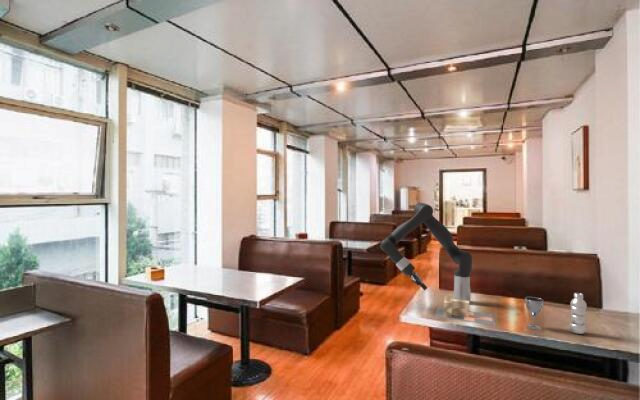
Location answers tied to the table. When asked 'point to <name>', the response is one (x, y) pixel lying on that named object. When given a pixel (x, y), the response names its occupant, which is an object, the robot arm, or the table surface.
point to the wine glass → (534, 309)
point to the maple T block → (455, 307)
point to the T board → (473, 317)
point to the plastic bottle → (578, 314)
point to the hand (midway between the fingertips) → (426, 289)
